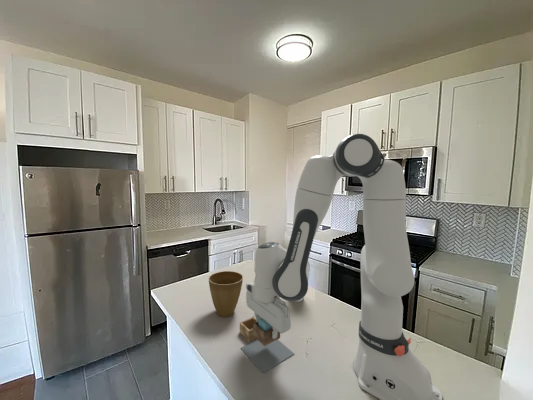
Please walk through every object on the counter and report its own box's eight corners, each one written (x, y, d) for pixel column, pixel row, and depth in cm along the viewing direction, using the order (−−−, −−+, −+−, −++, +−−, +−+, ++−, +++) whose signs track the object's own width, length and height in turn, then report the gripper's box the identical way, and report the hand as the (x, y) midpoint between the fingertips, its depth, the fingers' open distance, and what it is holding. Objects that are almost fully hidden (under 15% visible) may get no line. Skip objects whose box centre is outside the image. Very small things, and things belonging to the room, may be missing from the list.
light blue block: (274, 336, 78) (275, 320, 77) (265, 341, 75) (265, 324, 75) (267, 330, 81) (267, 315, 80) (258, 334, 78) (258, 318, 78)
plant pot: (222, 326, 92) (222, 287, 91) (202, 312, 102) (201, 277, 101) (249, 311, 103) (250, 276, 102) (228, 300, 113) (228, 268, 112)
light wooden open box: (263, 335, 87) (263, 324, 87) (249, 342, 83) (249, 331, 83) (253, 326, 92) (253, 316, 92) (239, 333, 88) (239, 322, 88)
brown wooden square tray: (280, 338, 77) (280, 326, 77) (264, 346, 73) (264, 333, 73) (268, 328, 83) (268, 316, 82) (252, 335, 79) (252, 323, 78)
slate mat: (294, 354, 77) (294, 353, 77) (262, 373, 69) (262, 372, 69) (270, 334, 87) (270, 333, 87) (240, 348, 80) (240, 347, 80)
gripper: (296, 301, 71) (294, 344, 72) (257, 278, 87) (257, 313, 88) (280, 307, 67) (279, 353, 68) (243, 282, 83) (242, 319, 84)
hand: (266, 330), depth 78 cm, fingers closed on brown wooden square tray, 7 cm apart
